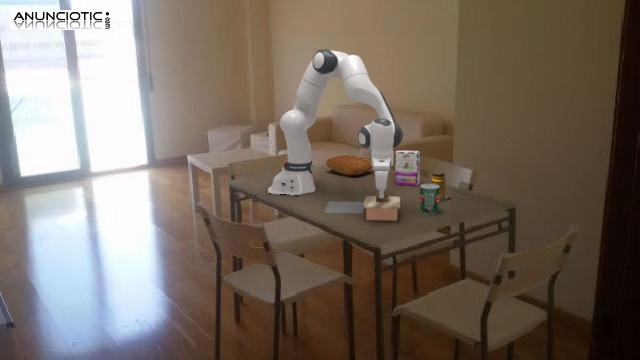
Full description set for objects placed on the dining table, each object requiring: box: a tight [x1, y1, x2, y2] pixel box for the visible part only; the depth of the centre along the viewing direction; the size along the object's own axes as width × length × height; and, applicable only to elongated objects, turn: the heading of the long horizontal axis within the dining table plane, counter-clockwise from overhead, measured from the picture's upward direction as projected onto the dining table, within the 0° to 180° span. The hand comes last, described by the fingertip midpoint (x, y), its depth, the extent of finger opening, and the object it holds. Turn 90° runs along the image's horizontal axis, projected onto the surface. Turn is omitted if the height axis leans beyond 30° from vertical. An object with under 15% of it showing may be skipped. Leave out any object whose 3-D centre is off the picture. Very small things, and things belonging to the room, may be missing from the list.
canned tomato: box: [419, 183, 440, 215], centre depth 247 cm, size 8×8×11 cm
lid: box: [363, 191, 401, 210], centre depth 241 cm, size 14×14×4 cm
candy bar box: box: [394, 149, 421, 187], centre depth 289 cm, size 11×5×16 cm, turn 68°
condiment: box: [430, 171, 446, 201], centre depth 264 cm, size 7×8×12 cm
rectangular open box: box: [365, 208, 398, 222], centre depth 242 cm, size 12×12×6 cm
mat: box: [324, 201, 365, 214], centre depth 255 cm, size 16×16×1 cm
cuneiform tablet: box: [325, 154, 373, 176], centre depth 315 cm, size 22×17×8 cm
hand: (382, 194), depth 240 cm, fingers open, 8 cm apart
